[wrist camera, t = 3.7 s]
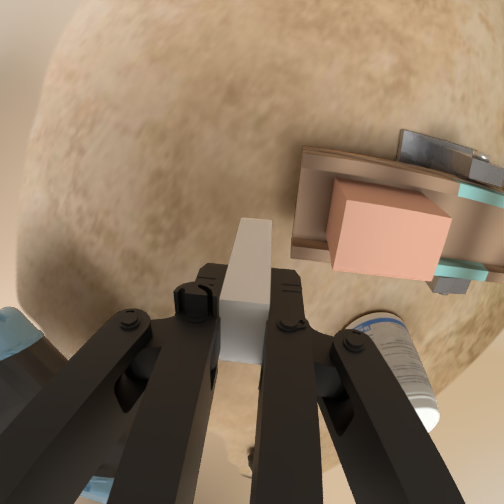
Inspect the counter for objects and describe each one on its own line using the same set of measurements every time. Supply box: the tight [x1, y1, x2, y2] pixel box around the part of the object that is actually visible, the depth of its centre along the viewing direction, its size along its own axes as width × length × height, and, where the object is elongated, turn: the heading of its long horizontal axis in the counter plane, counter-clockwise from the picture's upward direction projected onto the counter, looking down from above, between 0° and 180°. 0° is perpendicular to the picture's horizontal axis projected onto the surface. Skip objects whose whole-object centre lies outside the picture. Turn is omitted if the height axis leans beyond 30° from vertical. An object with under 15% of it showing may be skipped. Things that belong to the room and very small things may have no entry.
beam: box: [291, 146, 504, 283], centre depth 23 cm, size 30×8×8 cm, turn 86°
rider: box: [326, 177, 452, 281], centre depth 19 cm, size 7×4×6 cm, turn 86°
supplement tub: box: [345, 312, 440, 432], centre depth 30 cm, size 10×10×15 cm
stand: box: [396, 129, 504, 295], centre depth 24 cm, size 10×13×8 cm
